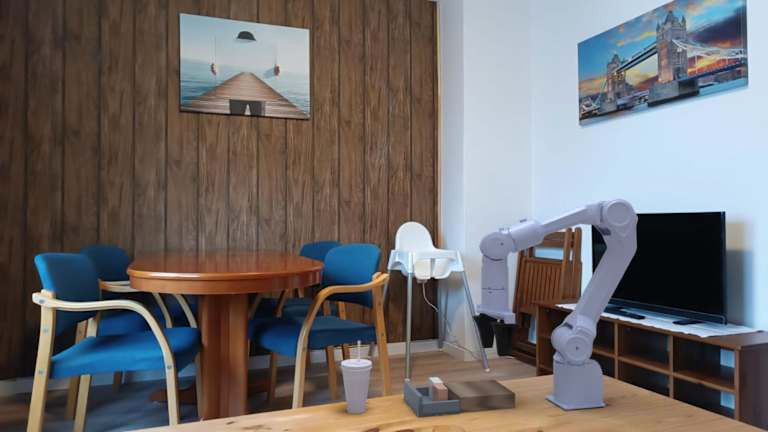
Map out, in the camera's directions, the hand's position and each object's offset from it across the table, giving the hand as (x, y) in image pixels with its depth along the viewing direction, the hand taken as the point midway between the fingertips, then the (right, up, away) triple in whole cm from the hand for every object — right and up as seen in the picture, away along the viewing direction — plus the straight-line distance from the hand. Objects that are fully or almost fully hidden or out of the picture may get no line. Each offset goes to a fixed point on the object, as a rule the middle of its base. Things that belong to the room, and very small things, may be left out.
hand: (495, 351), depth 112 cm
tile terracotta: (-11, -8, -5) cm, 15 cm away
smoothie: (-29, -11, -6) cm, 32 cm away
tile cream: (-12, -8, -1) cm, 14 cm away
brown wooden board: (-4, -10, -1) cm, 11 cm away
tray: (-14, -10, -4) cm, 18 cm away
